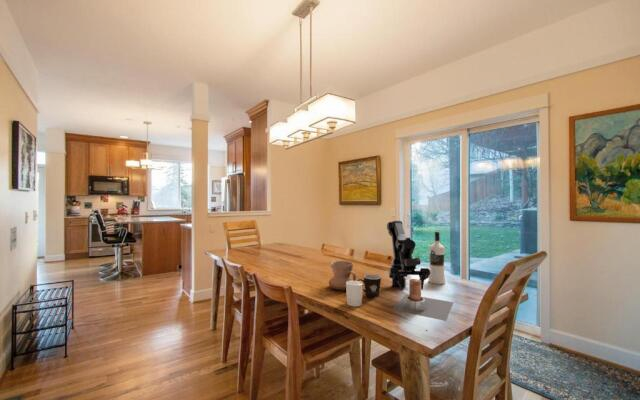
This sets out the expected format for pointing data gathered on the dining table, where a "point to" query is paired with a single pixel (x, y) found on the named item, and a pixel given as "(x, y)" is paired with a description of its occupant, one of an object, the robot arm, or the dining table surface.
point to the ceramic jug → (341, 274)
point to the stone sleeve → (415, 304)
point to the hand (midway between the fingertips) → (412, 289)
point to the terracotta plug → (415, 289)
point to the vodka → (437, 262)
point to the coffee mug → (371, 285)
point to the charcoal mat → (428, 308)
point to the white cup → (354, 293)
